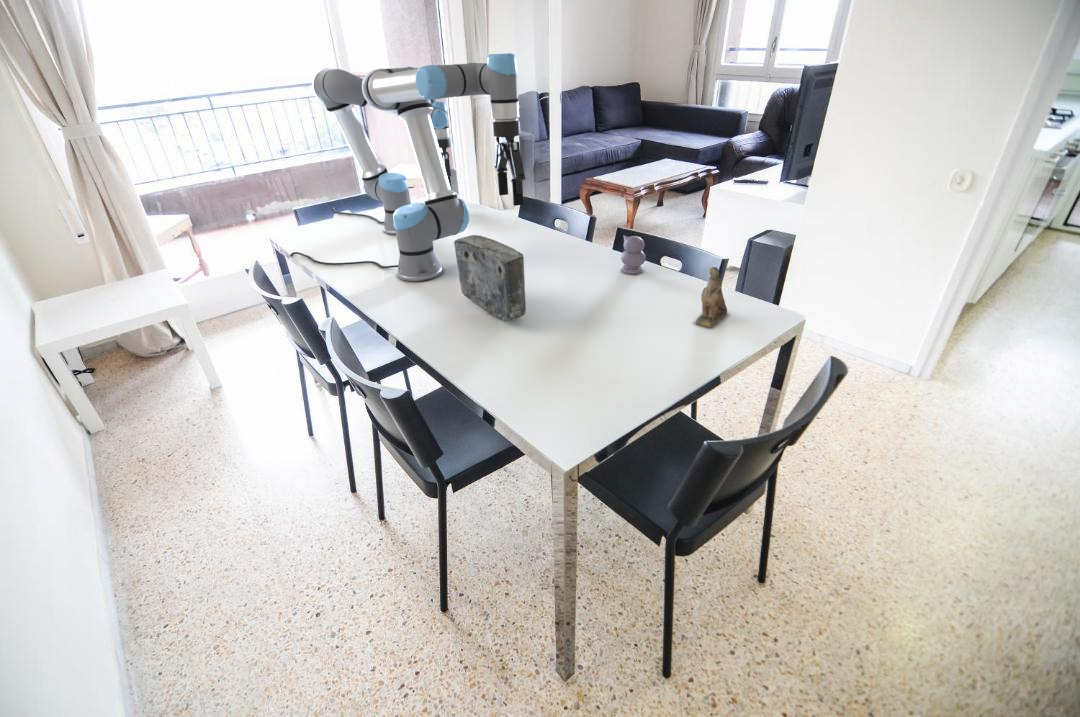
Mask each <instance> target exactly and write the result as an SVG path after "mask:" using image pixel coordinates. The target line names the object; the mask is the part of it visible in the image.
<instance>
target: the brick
mask: <svg viewBox="0 0 1080 717" xmlns="http://www.w3.org/2000/svg"><path fill="white" fill-rule="evenodd" d="M450 171H451V176H450V179H451V189H452V191H454V192H455V193H457V195H459V187H458V180H457V178H458V176H457V170H456V169H455V168H450ZM447 174H448V173H447Z"/></svg>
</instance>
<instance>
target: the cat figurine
mask: <svg viewBox="0 0 1080 717" xmlns="http://www.w3.org/2000/svg"><path fill="white" fill-rule="evenodd" d="M623 249H624V250H623V252H622V253H621V255H620V260H621V262H622V264H623V265H622V273H624V274H628V275H637V274H640V273H642V265H644V264H645V262H646V254H645V253H644V252H643V251H644V249H645V242H644V239H642V238H641V236H637V235H631V236H627V235H624V234H623Z"/></svg>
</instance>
